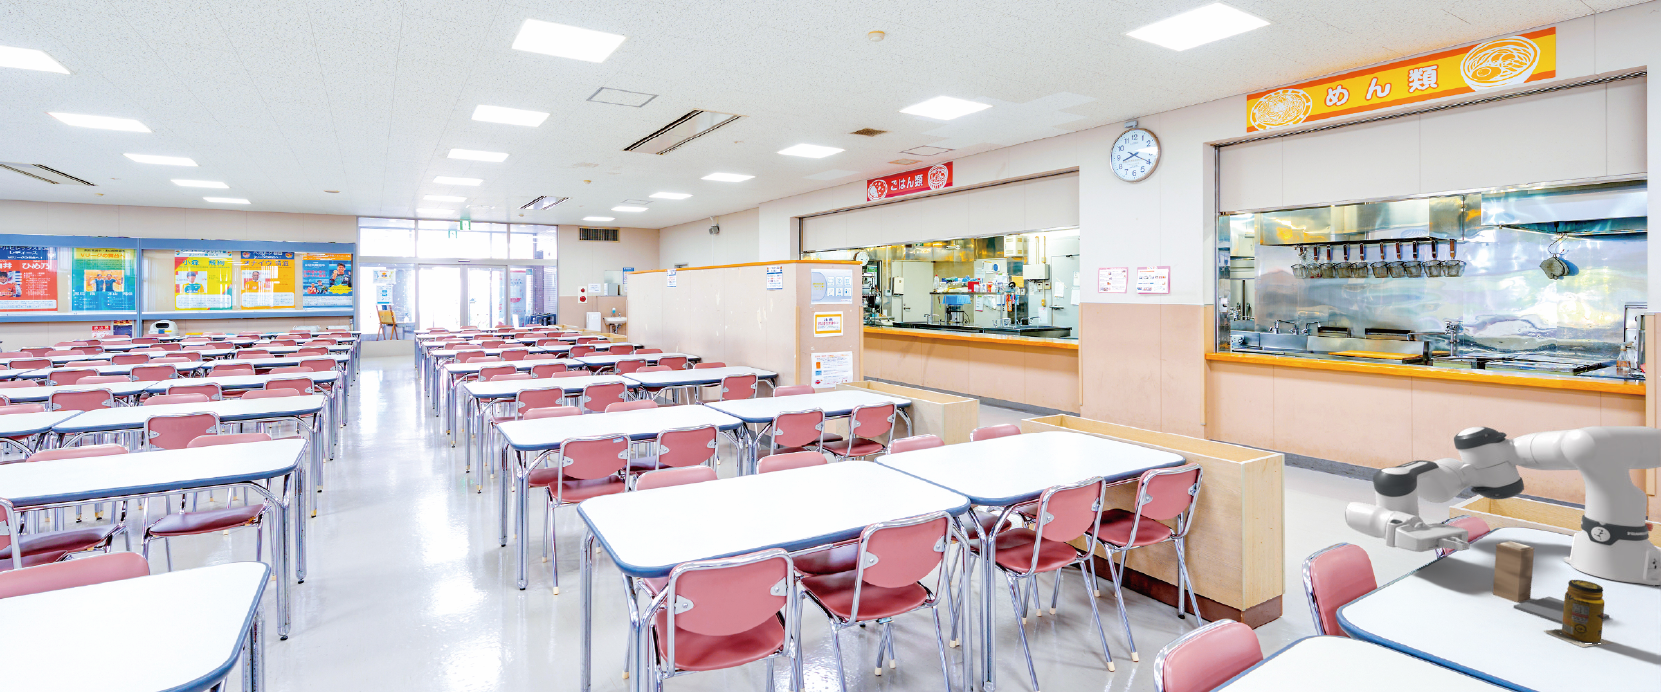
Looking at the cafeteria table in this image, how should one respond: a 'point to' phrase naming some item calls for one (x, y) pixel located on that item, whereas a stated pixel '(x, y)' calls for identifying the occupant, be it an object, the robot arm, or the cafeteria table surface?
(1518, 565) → the block
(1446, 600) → the cafeteria table surface
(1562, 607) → the mat
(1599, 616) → the condiment
